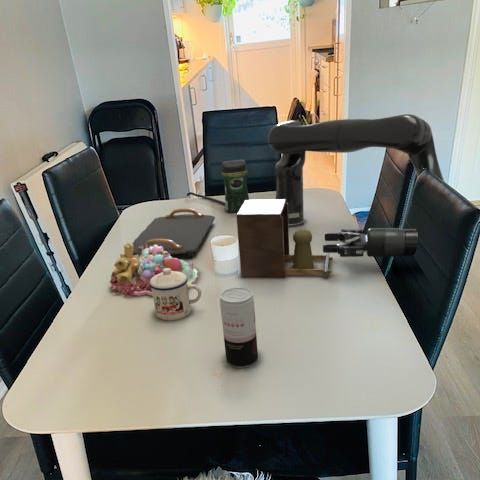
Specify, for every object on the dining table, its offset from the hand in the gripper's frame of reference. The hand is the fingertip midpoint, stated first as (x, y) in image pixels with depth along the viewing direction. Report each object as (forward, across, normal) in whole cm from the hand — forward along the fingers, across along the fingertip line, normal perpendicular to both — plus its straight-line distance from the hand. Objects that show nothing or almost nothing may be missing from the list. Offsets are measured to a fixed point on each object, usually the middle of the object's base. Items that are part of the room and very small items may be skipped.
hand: (323, 242), depth 135 cm
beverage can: (+14, +46, +8) cm, 49 cm away
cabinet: (+16, 0, +8) cm, 18 cm away
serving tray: (+51, -22, +8) cm, 56 cm away
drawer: (+5, 0, +7) cm, 9 cm away
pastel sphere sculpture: (+47, +8, +8) cm, 49 cm away
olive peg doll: (+6, 0, +8) cm, 10 cm away
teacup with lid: (+34, +27, +8) cm, 44 cm away
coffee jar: (+36, -56, +8) cm, 67 cm away
